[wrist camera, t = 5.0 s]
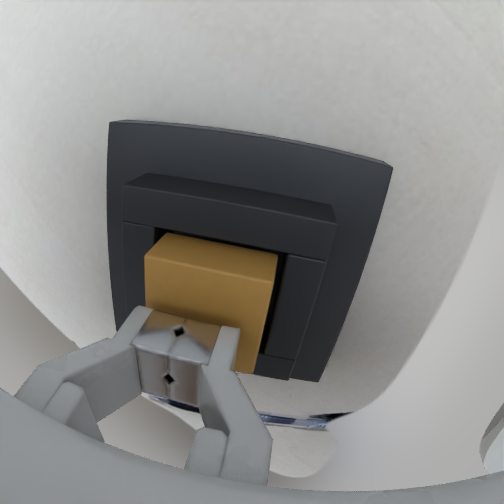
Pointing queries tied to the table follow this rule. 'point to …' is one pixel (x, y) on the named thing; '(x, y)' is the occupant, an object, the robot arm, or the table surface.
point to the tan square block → (213, 287)
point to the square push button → (248, 223)
